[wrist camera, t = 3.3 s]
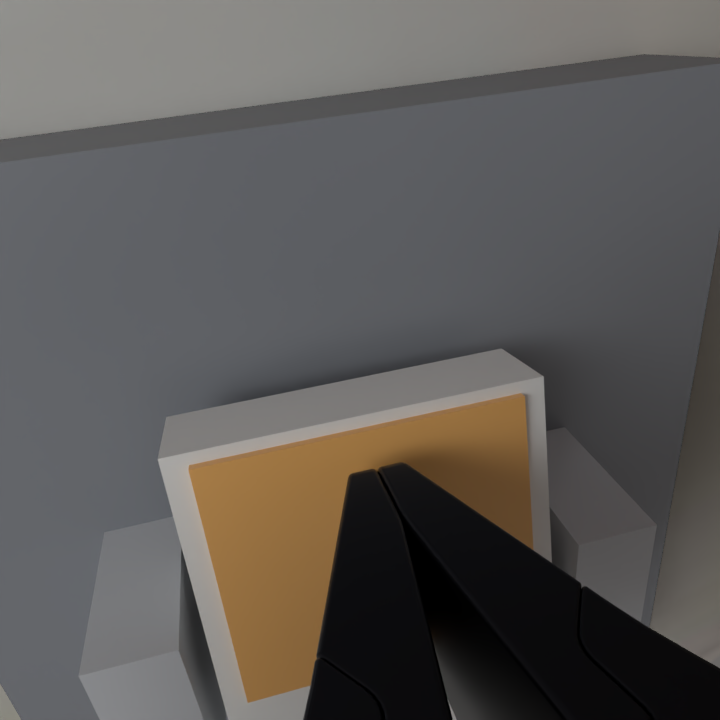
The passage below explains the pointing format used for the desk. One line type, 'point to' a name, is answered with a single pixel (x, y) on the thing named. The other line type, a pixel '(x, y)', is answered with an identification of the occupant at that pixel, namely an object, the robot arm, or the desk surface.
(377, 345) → the box
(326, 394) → the block
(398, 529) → the robot arm
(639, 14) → the desk surface
